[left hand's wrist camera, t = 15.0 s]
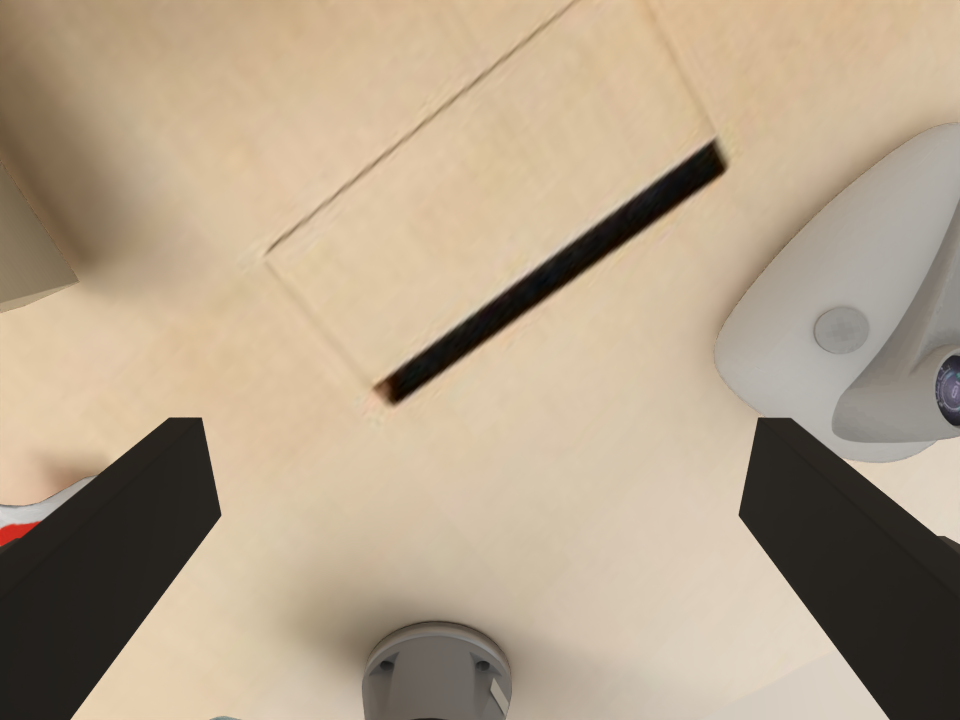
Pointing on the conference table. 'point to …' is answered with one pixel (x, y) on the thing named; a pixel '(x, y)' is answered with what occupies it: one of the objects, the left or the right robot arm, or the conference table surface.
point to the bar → (26, 252)
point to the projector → (862, 312)
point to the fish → (33, 512)
